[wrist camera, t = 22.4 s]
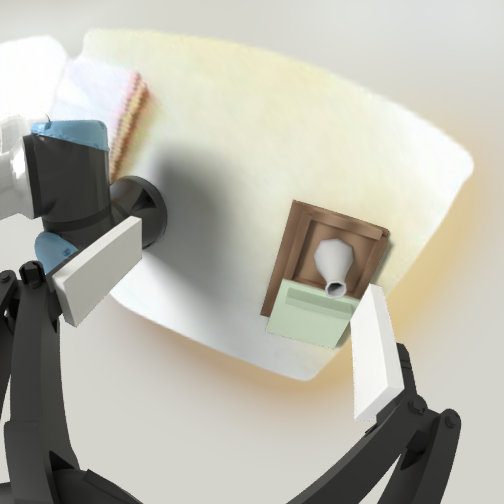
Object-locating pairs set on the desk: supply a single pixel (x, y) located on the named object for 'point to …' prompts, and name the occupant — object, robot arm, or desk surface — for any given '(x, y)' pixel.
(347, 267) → the flask
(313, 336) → the cover
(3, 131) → the cup
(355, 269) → the tray
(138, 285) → the desk surface
